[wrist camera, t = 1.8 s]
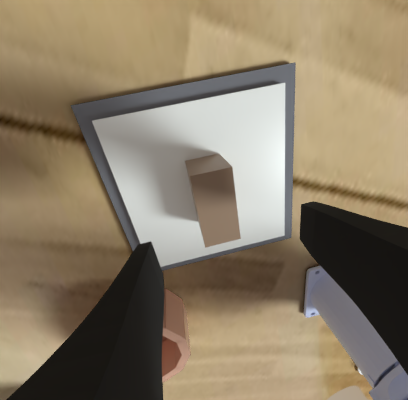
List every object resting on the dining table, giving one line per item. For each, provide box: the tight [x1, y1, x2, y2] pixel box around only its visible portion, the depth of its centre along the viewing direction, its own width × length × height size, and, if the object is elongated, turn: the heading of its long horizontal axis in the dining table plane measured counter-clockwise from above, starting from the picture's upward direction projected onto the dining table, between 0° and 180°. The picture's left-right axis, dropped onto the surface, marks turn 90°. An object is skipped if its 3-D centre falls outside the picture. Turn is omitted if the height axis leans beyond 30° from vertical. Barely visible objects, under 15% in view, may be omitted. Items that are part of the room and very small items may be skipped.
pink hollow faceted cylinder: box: [162, 288, 191, 383], centre depth 20 cm, size 9×9×4 cm
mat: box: [71, 63, 295, 271], centre depth 16 cm, size 14×14×1 cm
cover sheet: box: [92, 83, 285, 267], centre depth 14 cm, size 12×12×4 cm
